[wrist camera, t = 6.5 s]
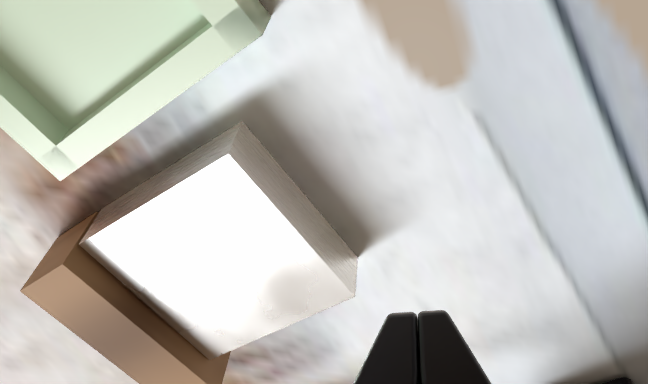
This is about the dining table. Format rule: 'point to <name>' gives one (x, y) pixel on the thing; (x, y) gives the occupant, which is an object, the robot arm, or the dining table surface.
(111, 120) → the tray
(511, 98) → the dining table surface
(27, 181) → the dining table surface
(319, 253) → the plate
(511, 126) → the dining table surface
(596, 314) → the dining table surface
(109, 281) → the block
